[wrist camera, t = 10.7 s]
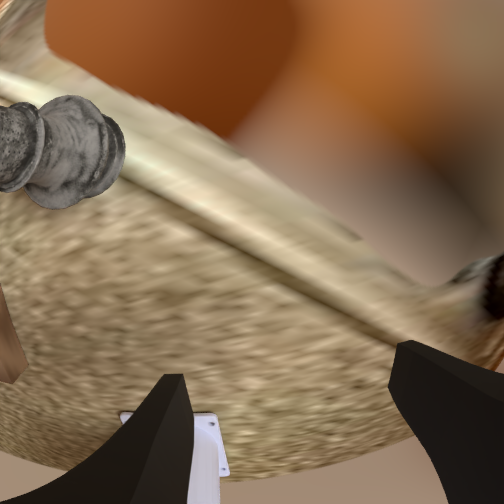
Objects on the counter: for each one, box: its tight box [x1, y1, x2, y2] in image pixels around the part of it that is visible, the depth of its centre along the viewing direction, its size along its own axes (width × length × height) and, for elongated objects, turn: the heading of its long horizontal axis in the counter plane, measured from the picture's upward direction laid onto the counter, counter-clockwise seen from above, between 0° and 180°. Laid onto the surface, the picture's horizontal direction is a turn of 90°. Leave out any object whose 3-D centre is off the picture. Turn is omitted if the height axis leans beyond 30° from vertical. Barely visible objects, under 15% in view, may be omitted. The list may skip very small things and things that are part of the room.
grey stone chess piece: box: [0, 95, 125, 210], centre depth 9 cm, size 6×6×12 cm
